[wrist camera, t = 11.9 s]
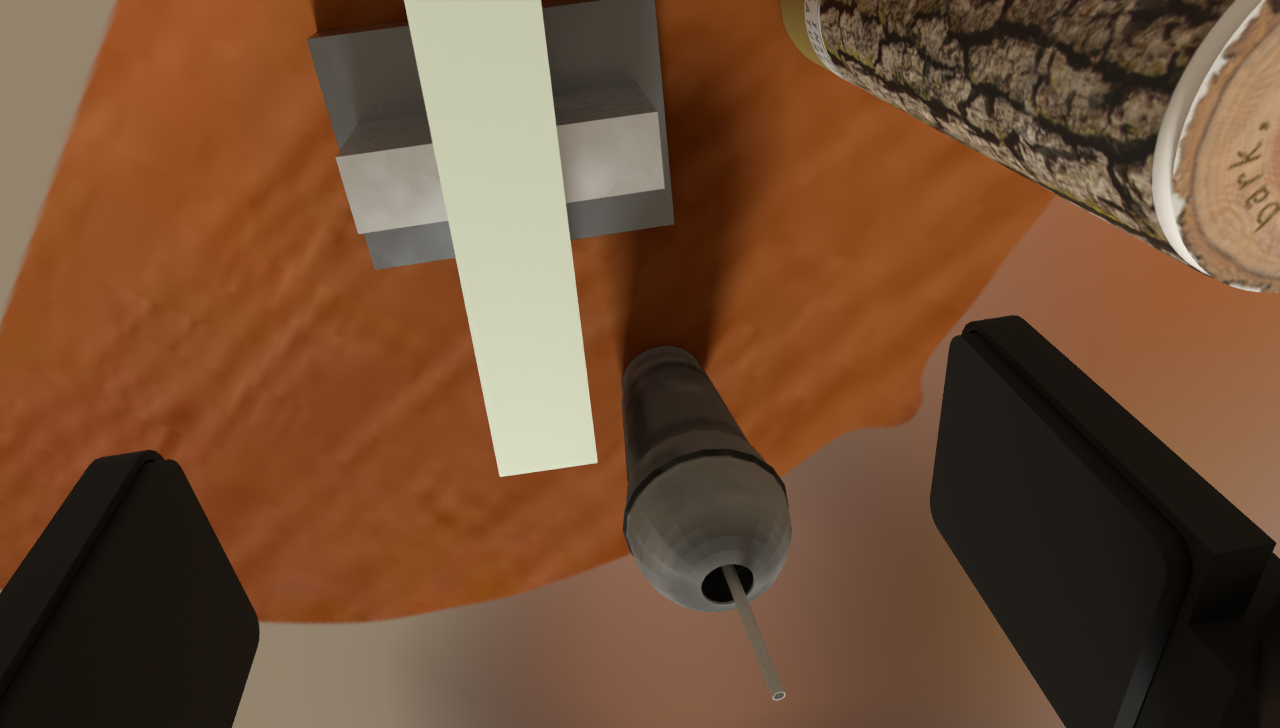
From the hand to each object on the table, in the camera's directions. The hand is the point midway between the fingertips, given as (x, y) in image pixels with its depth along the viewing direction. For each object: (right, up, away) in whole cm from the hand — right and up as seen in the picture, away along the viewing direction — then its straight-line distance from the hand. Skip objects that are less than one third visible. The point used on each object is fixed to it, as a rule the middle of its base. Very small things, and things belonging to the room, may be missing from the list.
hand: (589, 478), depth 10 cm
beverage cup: (+2, +1, +35) cm, 35 cm away
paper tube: (+10, +18, +26) cm, 33 cm away
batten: (-4, +9, +21) cm, 23 cm away
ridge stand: (-5, +12, +27) cm, 30 cm away
